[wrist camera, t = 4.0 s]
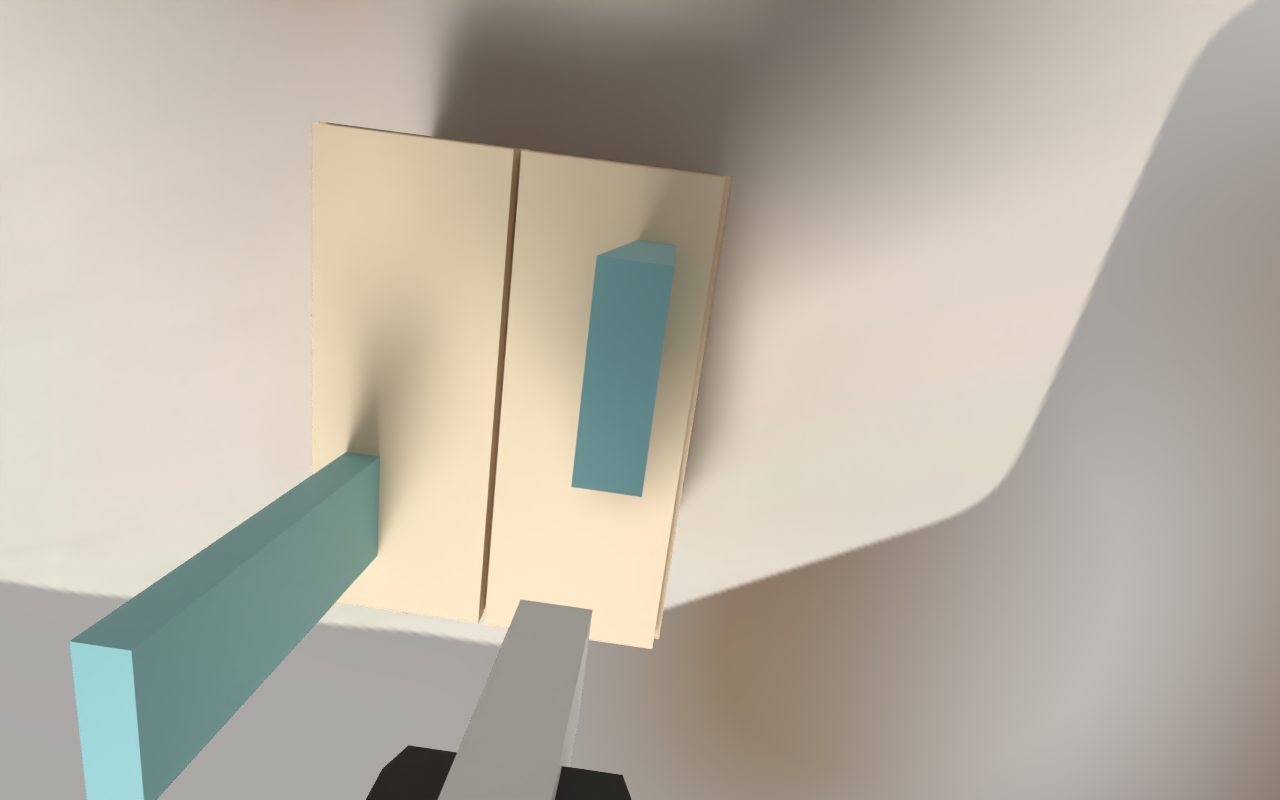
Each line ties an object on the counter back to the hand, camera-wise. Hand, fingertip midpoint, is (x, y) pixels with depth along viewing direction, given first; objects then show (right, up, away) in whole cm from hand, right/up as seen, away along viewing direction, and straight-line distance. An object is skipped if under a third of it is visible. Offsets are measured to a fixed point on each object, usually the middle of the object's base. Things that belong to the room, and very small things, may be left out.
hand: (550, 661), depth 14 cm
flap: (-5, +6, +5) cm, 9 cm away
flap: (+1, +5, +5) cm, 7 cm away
